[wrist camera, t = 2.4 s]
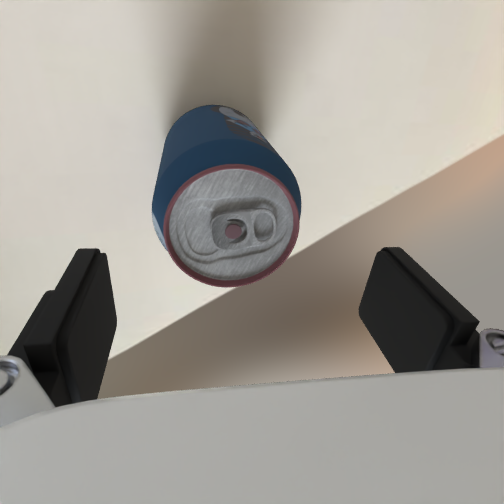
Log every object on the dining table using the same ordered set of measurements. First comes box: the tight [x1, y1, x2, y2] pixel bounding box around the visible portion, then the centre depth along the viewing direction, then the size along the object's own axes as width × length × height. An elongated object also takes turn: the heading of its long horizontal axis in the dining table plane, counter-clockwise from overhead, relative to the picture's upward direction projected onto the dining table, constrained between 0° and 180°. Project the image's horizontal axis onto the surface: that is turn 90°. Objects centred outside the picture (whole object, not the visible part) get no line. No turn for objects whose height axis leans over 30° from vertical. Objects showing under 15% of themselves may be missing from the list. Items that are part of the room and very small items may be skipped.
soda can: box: [152, 105, 301, 287], centre depth 19 cm, size 7×7×12 cm
